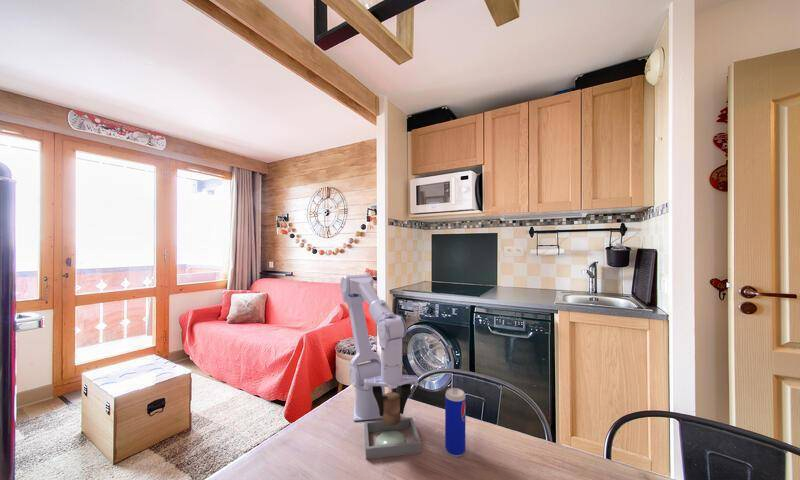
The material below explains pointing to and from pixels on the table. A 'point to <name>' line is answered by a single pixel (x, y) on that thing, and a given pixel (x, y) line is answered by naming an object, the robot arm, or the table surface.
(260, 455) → the table surface
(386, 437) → the coaster
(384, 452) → the grey rectangular frame
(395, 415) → the walnut cylinder
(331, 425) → the table surface
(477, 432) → the table surface
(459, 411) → the beverage can
